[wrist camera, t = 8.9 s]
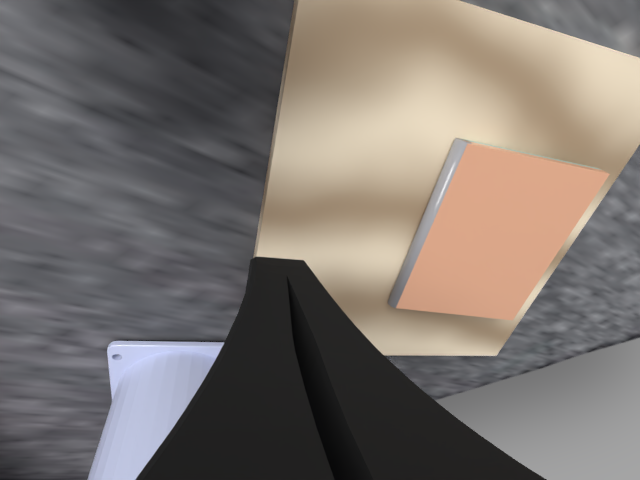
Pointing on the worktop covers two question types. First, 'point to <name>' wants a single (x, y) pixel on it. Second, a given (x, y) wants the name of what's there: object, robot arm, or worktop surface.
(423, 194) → the board
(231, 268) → the worktop surface
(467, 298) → the tile
